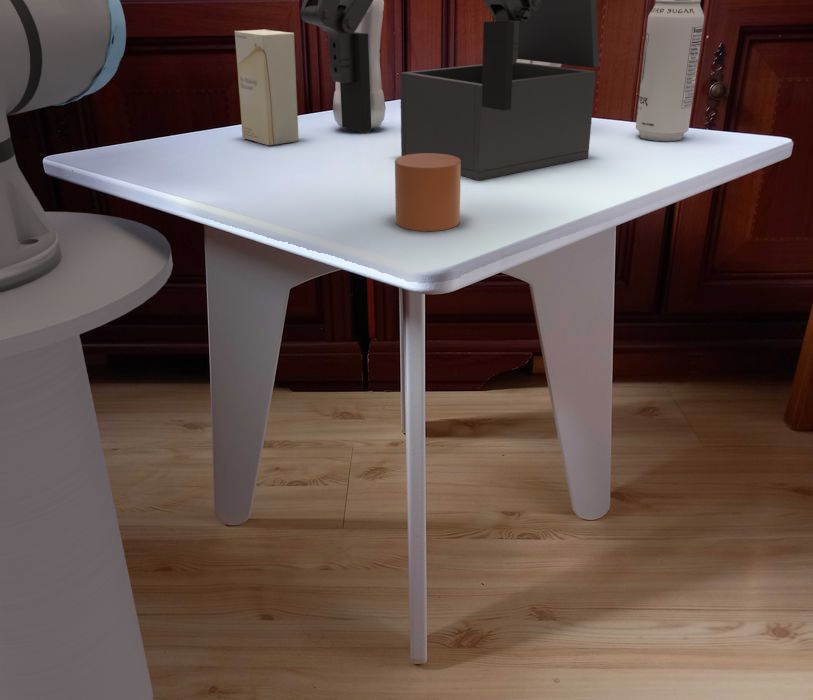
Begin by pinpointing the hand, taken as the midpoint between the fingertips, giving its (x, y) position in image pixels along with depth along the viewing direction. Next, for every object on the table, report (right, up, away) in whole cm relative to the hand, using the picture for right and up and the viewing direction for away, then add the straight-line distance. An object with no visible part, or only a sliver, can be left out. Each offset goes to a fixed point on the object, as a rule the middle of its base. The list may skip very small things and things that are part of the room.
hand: (430, 118), depth 62 cm
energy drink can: (+28, +7, +34) cm, 45 cm away
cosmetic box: (-18, +7, +34) cm, 39 cm away
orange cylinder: (0, -7, +4) cm, 8 cm away
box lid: (+12, +20, +20) cm, 31 cm away
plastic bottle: (-8, +10, +40) cm, 42 cm away
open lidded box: (+8, +3, +24) cm, 26 cm away
